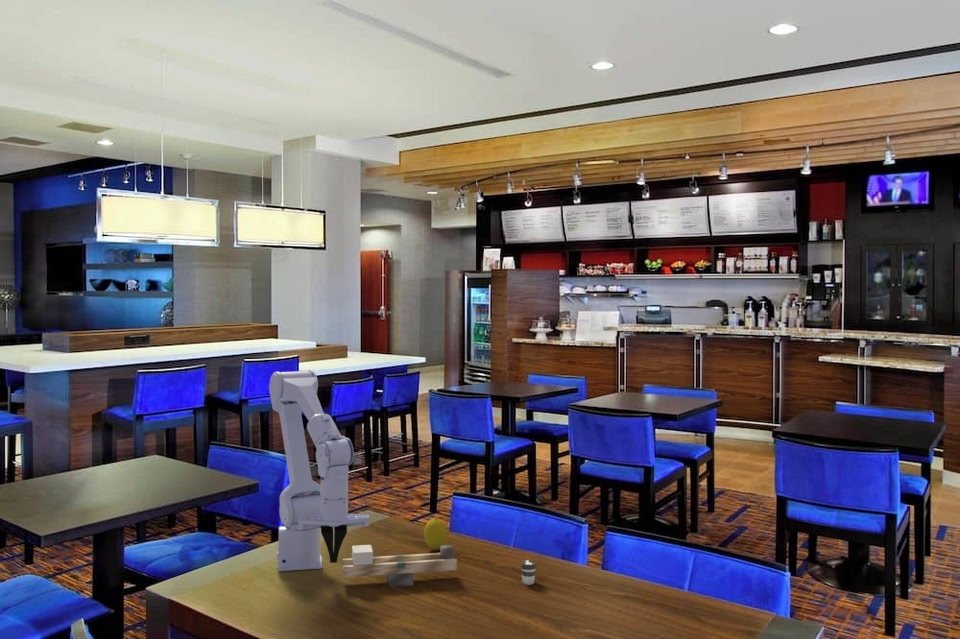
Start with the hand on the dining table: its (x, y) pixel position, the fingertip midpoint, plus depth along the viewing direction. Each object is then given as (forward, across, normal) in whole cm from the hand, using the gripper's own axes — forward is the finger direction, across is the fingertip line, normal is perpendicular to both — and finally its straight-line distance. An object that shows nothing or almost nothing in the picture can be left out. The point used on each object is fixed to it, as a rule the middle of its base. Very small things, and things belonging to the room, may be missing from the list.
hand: (333, 561), depth 157 cm
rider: (+1, +6, 0) cm, 6 cm away
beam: (+5, +14, 0) cm, 15 cm away
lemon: (+5, +25, +18) cm, 31 cm away
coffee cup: (+6, +41, -6) cm, 42 cm away
